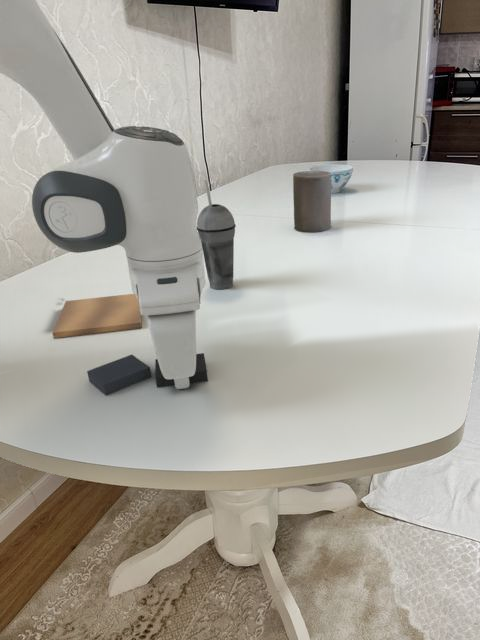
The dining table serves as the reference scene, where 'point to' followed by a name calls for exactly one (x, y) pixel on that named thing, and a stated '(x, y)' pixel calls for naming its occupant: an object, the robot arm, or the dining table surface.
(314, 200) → the pillar candle
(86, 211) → the robot arm
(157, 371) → the pad bottom
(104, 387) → the pad top
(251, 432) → the dining table surface
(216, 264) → the beverage cup
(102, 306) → the cork mat
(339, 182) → the chinaware
